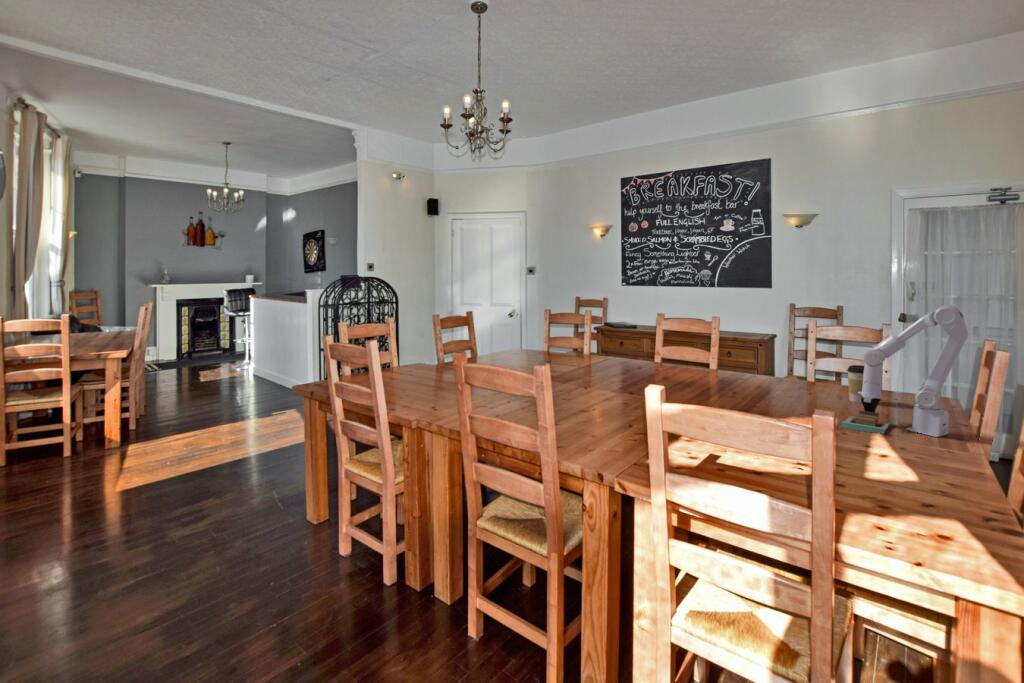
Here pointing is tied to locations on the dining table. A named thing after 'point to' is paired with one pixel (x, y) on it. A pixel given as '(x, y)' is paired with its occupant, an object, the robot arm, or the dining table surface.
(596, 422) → the dining table surface
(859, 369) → the coffee cup
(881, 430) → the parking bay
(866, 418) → the brown striped block
